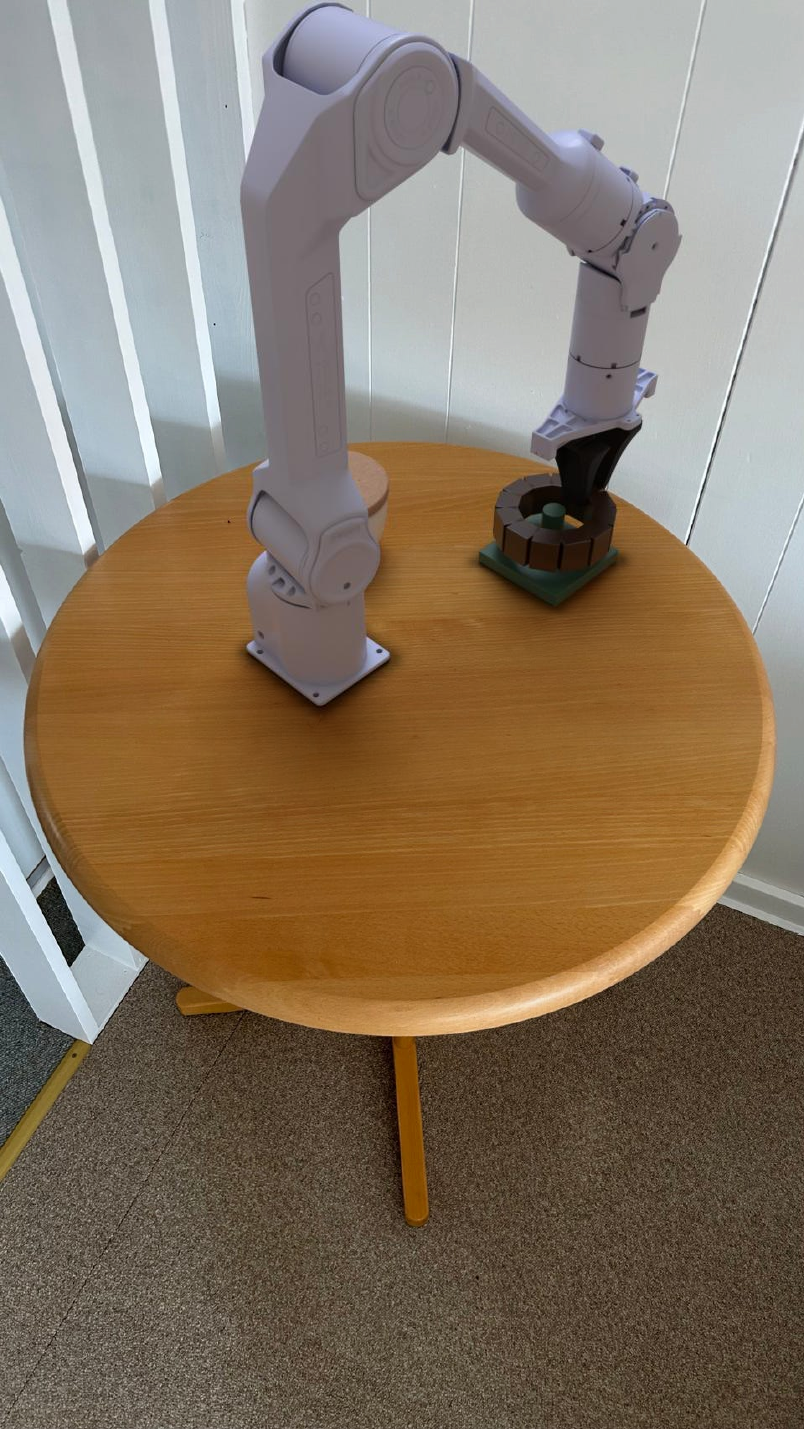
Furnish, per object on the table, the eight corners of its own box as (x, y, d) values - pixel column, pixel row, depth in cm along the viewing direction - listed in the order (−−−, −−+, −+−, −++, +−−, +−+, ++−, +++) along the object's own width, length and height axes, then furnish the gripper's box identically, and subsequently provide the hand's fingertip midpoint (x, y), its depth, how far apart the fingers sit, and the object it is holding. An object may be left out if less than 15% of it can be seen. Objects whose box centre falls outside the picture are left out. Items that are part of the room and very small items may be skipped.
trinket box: (376, 597, 86) (373, 509, 79) (260, 582, 87) (247, 494, 80) (400, 524, 93) (399, 438, 86) (293, 512, 94) (283, 426, 87)
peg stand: (478, 561, 89) (481, 510, 85) (541, 519, 93) (547, 468, 89) (554, 607, 84) (562, 555, 80) (617, 560, 89) (627, 509, 84)
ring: (470, 535, 87) (471, 507, 85) (545, 487, 92) (548, 459, 89) (560, 588, 82) (564, 560, 79) (634, 534, 86) (640, 507, 84)
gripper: (588, 404, 72) (567, 550, 82) (699, 336, 78) (667, 479, 88) (516, 371, 75) (504, 515, 85) (628, 308, 82) (605, 449, 92)
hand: (583, 495), depth 87 cm, fingers closed on ring, 2 cm apart
